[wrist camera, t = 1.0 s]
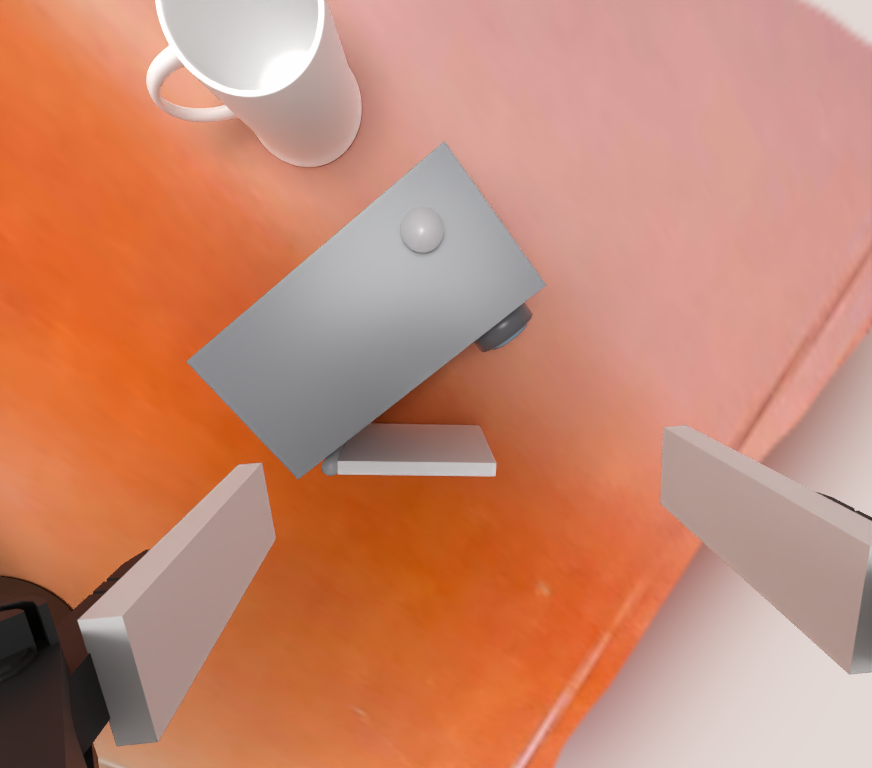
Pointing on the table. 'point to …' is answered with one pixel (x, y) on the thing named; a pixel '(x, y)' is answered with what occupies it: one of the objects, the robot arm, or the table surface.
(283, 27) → the mug
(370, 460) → the door
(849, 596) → the robot arm
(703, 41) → the table surface
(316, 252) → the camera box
